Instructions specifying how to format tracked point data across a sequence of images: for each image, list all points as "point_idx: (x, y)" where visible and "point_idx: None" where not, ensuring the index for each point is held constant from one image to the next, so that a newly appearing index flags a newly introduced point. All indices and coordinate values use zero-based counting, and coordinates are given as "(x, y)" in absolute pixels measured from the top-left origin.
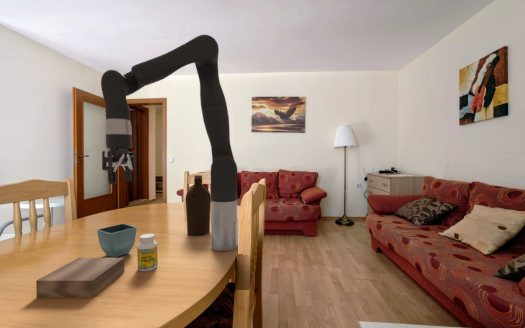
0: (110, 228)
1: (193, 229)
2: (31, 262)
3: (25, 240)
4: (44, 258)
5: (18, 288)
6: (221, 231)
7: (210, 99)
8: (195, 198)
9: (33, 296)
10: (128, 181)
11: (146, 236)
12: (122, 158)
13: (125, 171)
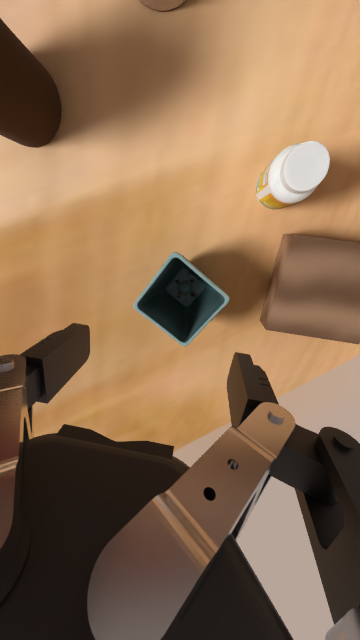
0: (163, 324)
1: (48, 104)
2: (203, 407)
3: None
4: (188, 399)
5: (300, 372)
6: None
7: None
8: None
9: None
10: (89, 336)
11: (312, 166)
12: (169, 511)
13: (49, 392)
